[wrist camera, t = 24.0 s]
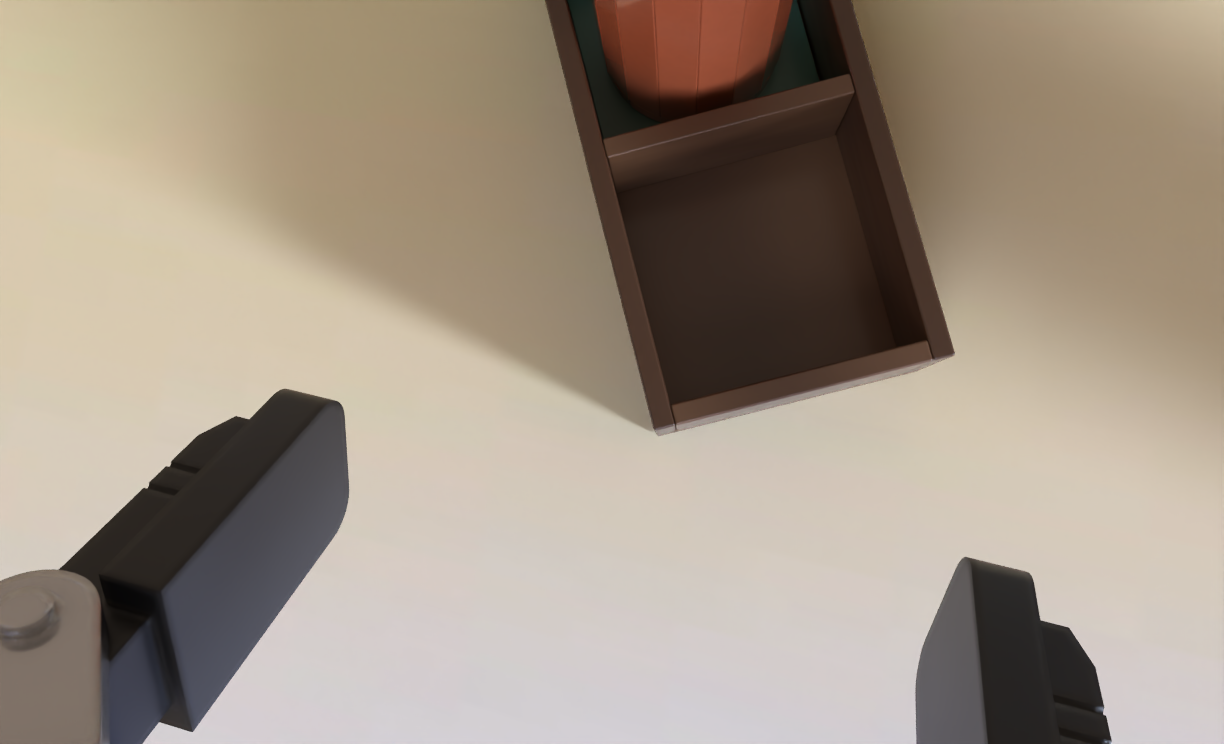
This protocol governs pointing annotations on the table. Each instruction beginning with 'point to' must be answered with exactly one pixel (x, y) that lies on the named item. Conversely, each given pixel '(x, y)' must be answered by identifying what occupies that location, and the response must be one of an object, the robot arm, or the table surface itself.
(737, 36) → the cup
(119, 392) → the table surface
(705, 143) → the dark brown open box
